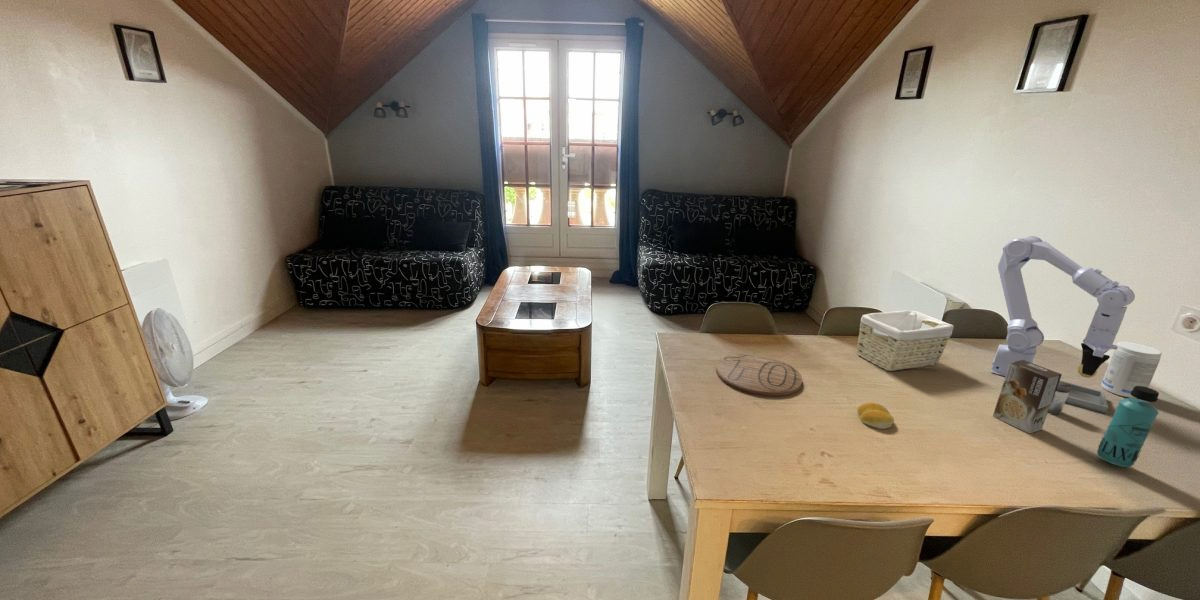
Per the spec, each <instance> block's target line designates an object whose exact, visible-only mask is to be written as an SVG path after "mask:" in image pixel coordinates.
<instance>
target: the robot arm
mask: <svg viewBox="0 0 1200 600" xmlns="http://www.w3.org/2000/svg"><path fill="white" fill-rule="evenodd" d="M1030 260H1039V261H1045V262H1047V263H1049V264H1050V265H1052V266H1054V267H1055V268H1056V269H1059V270H1060V271H1062V272H1064V273H1065V274H1067V275H1069V276H1070V277H1071V279H1072V284H1074V285H1075V286H1077V287H1078V288H1080V289H1081V290H1083V291H1084V292H1086V293H1087V294H1089V295H1090V296H1091V297H1094V298H1096V301H1097V303H1098V306H1097V309H1096V310H1095V312H1094V314H1093V317H1092V319H1091V322H1090V325H1089V327H1088V330H1087V332H1086V335H1085V337H1084V338H1083V340H1082V342H1081V343H1080V346H1081V351H1082V356H1081V362H1080V363H1081V364H1080V365H1082V364H1083V367H1082V373H1083V374H1086V375H1090V376H1092V375H1093V374H1094V373H1095V372H1096V370H1097V371H1098V369H1099V368H1100V366H1102V365H1103V364H1104V363H1105V362H1106V361H1108V360H1109V359H1111V356H1110V354H1109V355H1108V354H1106V353H1107V352H1108V351H1110V350H1114V349H1115V350H1117V348H1118V347H1117V344H1114V342H1115V339H1116V337H1117V335H1118V333H1119V330H1120V327H1121V326H1122V322H1123V321H1124V317H1125V314H1126V312H1127V309H1128V306H1129V305H1131V304H1132V303H1133V302H1134V300H1135V297H1136V296H1135V293H1134V291H1133V290H1132V289H1131V288H1130V287H1129V286H1127V285H1123V284H1120V282H1118V281H1116V280H1115V281H1113V280H1112V279H1110V278H1108V277H1107V276H1105V275H1104V274H1102V272H1103V270H1101V269H1099V268H1095V269H1094V268H1093V267H1082V266H1081V265H1080V264H1078V263H1077V262H1075V261H1074V260H1073V259H1071V258H1069V257H1068V256H1067V255H1065V254H1064V253H1062V252H1061V251H1059V249H1057V248H1055V247H1054V246H1053V245H1051V244H1050V243H1049V242H1047V241H1044V240H1042V238H1040V237H1037V236H1028V237H1027V236H1026V237H1021V238H1020V237H1017V238H1012V239H1011V240H1009V241H1008V242H1007V244H1005V245H1004V246H1003V247H1002V254H1001V256H1000V259H999V262H998V264H997V269H998V273H999V279H1000V282H1001V283H1000V284H1001V286H1002V291H1003V295H1004V300H1005V304H1006V308H1007V312H1008V317H1009V323H1008V325H1007V327H1006V330H1007V336H1006V338H1005V341H1006V344H998V347H997V349H996V353H995V356H994V359H992V361H991V370H990V372H991V373H992V374H995V375H998V376H999V375H1000V376H1003V377H1006V374H1007V371H1008V368H1009V364H1010V363H1014V362H1015V361H1020V360H1025V361H1028V362H1030V363H1033V362H1034V360H1035V357H1036V354H1037V347H1038V346H1041V344H1043V342H1044V340H1045V334H1044V333H1043V331H1042V330H1041V329H1040V328H1039V326H1038V322H1037V321H1036V320H1035V319H1034V318H1033V317H1032V312H1031V308H1030V304H1029V300H1028V296H1027V291H1026V287H1025V283H1024V278H1023V274H1022V268H1023V267H1024V266H1025V265H1026V264H1027V263H1028V262H1029V261H1030Z"/></svg>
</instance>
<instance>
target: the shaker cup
mask: <svg viewBox="0 0 1200 600" xmlns="http://www.w3.org/2000/svg"><path fill="white" fill-rule="evenodd" d="M1060 381H1061V380H1060ZM1060 381H1059V384H1058V386H1057V389H1056V392H1055V394H1054V397H1053V400H1052V403H1051V405H1050V408H1049V411H1048V414H1050V415H1054V416H1055V415H1056V416H1059V415H1061V414H1062V412H1063V409H1064V407H1065V404H1066V403H1065V402H1066V399H1067V397H1068V394H1069V392H1070V391H1071V388H1072V387H1071V386H1070V385H1068V384H1066V383H1063V382H1060Z"/></svg>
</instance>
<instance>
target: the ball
mask: <svg viewBox="0 0 1200 600" xmlns="http://www.w3.org/2000/svg"><path fill="white" fill-rule="evenodd" d="M1082 367H1083V364H1082V365H1081V364H1080V365H1079V366H1078V368H1077V372H1078V374H1079V376H1081V377H1084V378H1093V377H1095V376H1096V375H1097V373H1098V369H1097V370H1096V372H1095V373H1094V374H1093V375H1092V376H1090V375H1086V374H1083V373H1082Z"/></svg>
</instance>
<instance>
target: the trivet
mask: <svg viewBox="0 0 1200 600" xmlns="http://www.w3.org/2000/svg"><path fill="white" fill-rule="evenodd" d="M716 375H717V376H718V378H719V379H720V380H721V381H722V382H723V383H724V384H726V385H727V386H729V387H731V388H733V389H735V390H738V391H740V392H743V393H745V394H749V395H754V396H759V397H766V398H767V397H769V398H771V397H772V398H781V397H787V396H790V395H793V394H795V393H798V391H799V390H801V387H802V383H803V377H802V375H801V373H800V372H799V371H798V370H797V369H796V368H794V367H793V366H792V365H791V364H789V363H786V362H785V361H783V360H780V359H777V358H774V357H771V356H766V355H762V354H757V353H735V354H731V355H730V354H729V355H726V356H724V357H722V358H720V359H719V361H717V362H716Z"/></svg>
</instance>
